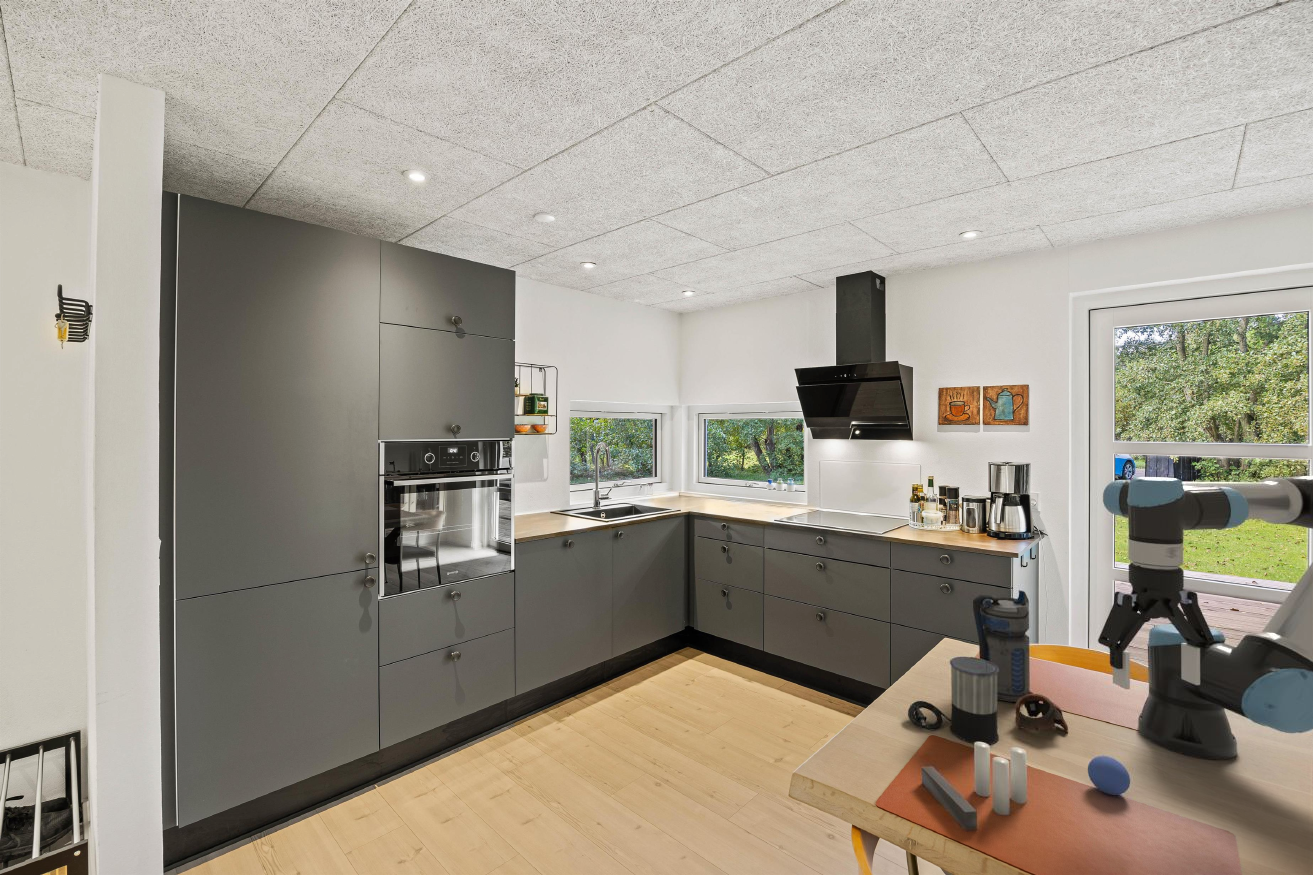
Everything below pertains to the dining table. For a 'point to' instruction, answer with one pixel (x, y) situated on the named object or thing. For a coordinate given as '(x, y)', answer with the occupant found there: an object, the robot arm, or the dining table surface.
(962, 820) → the back wall
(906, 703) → the dining table surface
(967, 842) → the dining table surface
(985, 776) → the pin
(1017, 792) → the front pin
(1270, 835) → the dining table surface
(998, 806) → the pin
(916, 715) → the milk frother
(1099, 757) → the ball
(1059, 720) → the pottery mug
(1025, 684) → the beverage bottle
